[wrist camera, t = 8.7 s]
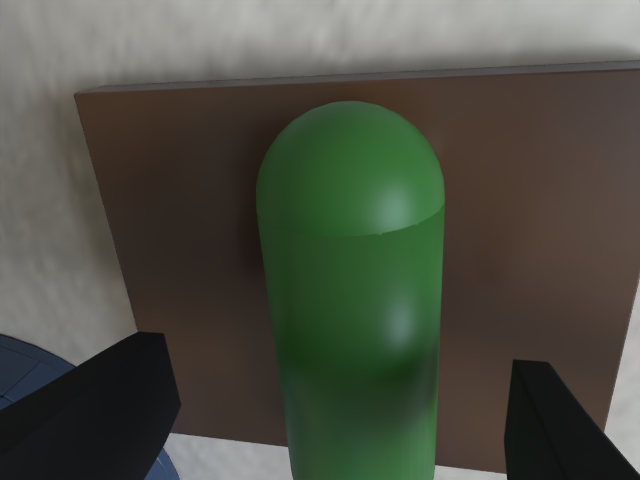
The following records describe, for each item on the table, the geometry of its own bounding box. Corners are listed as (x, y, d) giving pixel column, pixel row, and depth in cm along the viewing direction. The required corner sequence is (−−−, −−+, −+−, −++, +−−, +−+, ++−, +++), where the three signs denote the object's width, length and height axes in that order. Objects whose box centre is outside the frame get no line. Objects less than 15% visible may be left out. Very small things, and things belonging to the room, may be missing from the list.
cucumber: (416, 446, 15) (449, 569, 12) (297, 456, 15) (296, 580, 12) (422, 81, 10) (477, 114, 7) (252, 94, 10) (231, 133, 7)
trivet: (581, 450, 15) (592, 485, 14) (181, 406, 18) (165, 432, 17) (663, 59, 10) (689, 66, 9) (102, 85, 13) (72, 93, 12)
